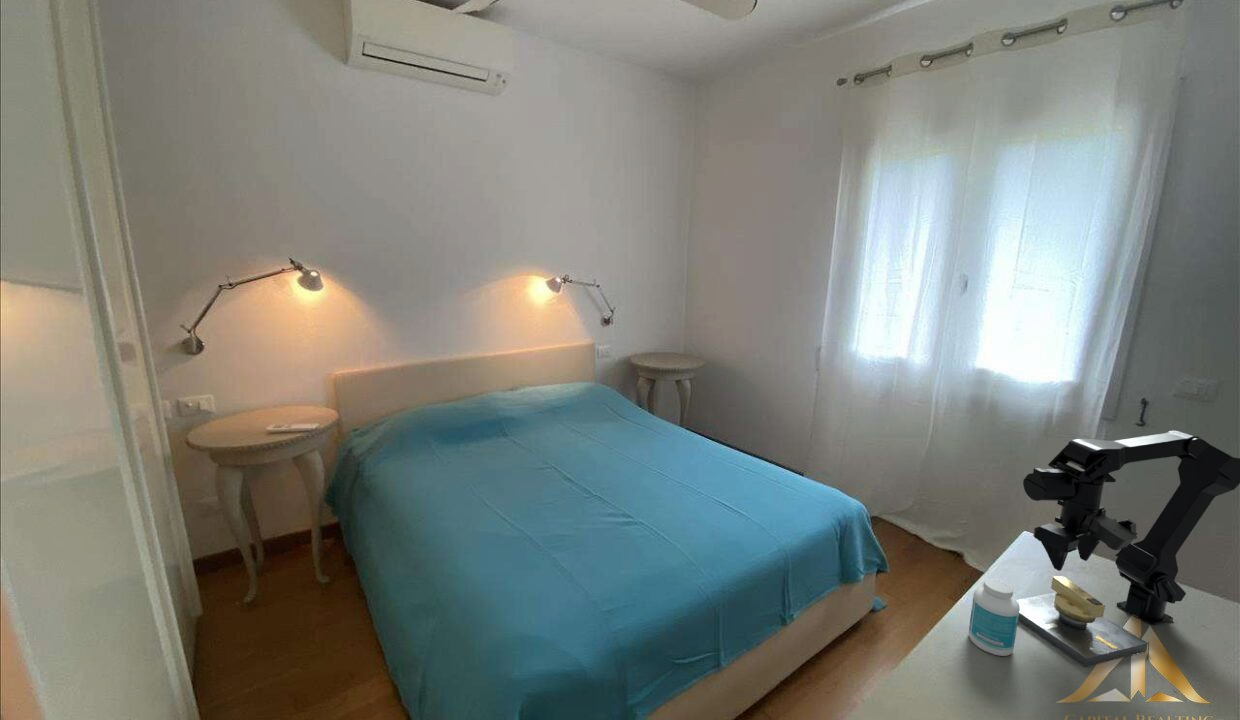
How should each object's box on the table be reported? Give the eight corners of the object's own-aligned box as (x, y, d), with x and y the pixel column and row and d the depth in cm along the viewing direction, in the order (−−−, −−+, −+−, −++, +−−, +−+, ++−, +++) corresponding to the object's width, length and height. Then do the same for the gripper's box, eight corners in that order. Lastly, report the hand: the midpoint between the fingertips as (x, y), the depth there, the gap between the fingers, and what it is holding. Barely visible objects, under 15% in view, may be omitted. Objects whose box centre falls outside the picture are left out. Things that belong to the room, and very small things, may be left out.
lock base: (1058, 598, 111) (1061, 583, 110) (1146, 651, 96) (1150, 634, 95) (1003, 610, 108) (1005, 594, 107) (1084, 667, 92) (1088, 649, 91)
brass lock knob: (1040, 597, 105) (1044, 576, 104) (1069, 597, 105) (1073, 575, 104) (1079, 628, 96) (1083, 604, 95) (1110, 627, 96) (1115, 604, 95)
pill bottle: (1021, 660, 94) (1031, 600, 91) (979, 655, 95) (987, 595, 93) (1000, 632, 101) (1008, 575, 99) (960, 627, 103) (968, 572, 100)
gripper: (1103, 527, 91) (1090, 599, 94) (1158, 507, 97) (1145, 575, 100) (1036, 501, 101) (1027, 566, 104) (1090, 485, 107) (1079, 547, 110)
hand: (1070, 564), depth 105 cm, fingers open, 9 cm apart
